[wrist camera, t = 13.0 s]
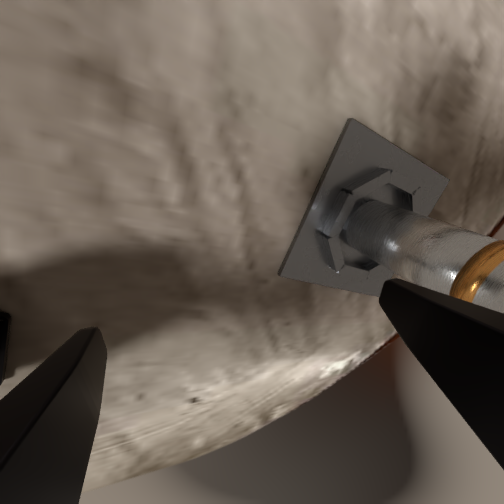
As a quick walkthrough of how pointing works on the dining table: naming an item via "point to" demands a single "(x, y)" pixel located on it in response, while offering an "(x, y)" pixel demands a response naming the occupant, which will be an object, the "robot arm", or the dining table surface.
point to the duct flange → (348, 201)
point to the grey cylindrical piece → (431, 252)
